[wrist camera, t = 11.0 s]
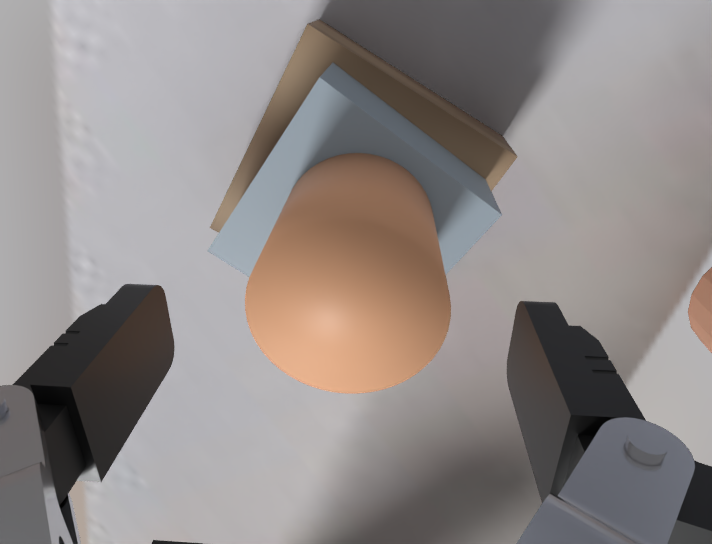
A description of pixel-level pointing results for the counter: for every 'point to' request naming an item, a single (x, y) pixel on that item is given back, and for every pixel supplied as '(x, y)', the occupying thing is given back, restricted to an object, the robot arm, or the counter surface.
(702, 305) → the salt shaker
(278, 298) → the terracotta drum
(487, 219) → the slate top block
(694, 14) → the counter surface
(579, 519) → the robot arm
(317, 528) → the counter surface
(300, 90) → the walnut base block
